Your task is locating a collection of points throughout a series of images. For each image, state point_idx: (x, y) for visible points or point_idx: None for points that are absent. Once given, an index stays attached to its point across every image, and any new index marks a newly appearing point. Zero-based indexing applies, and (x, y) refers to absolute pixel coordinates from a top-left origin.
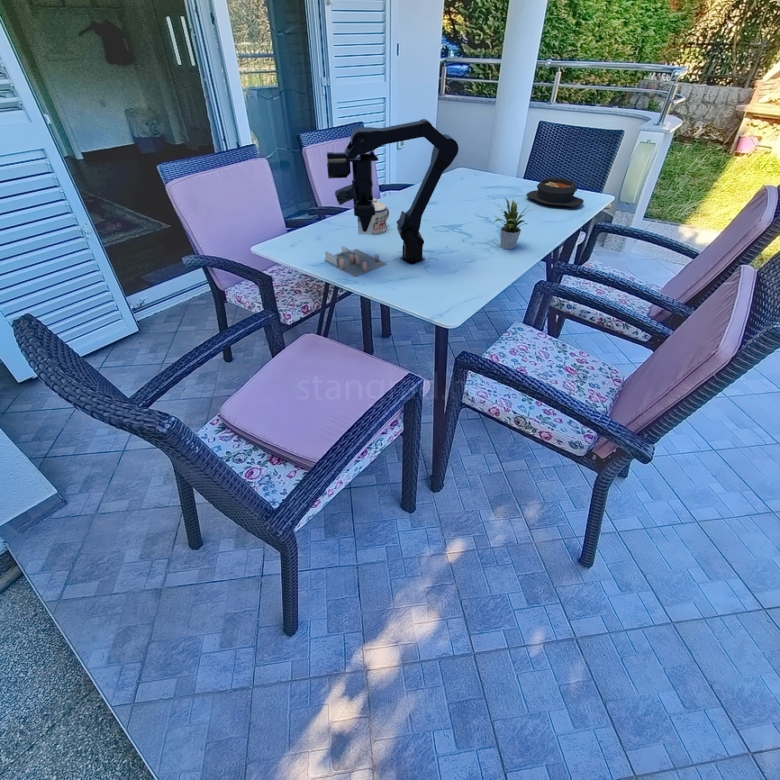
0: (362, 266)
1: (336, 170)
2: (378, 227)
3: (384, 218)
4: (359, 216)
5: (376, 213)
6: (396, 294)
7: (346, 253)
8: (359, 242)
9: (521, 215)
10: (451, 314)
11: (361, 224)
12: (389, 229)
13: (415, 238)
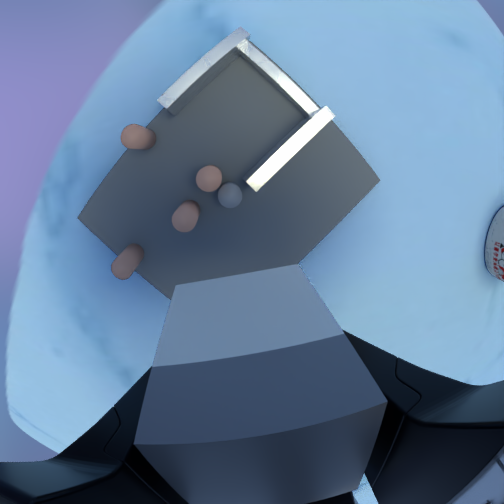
0: (180, 234)
1: None
2: (498, 263)
3: None
4: (45, 465)
5: None
6: (37, 356)
7: (286, 137)
8: (443, 189)
9: None
10: (31, 429)
11: (127, 391)
12: (497, 282)
13: None
